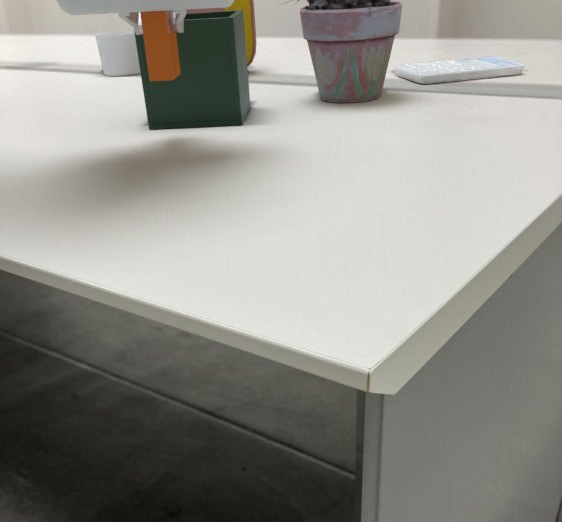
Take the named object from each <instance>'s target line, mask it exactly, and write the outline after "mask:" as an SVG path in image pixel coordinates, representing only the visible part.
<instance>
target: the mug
mask: <svg viewBox="0 0 562 522" xmlns="http://www.w3.org/2000/svg"><path fill="white" fill-rule="evenodd" d="M94 36H95V41H96V46H97V50H98V54H99V59H100V63H101V68H102V72H103V75H104V76H107V77H125V76H135V75H141V73H140V66H139V59H138V53H137V46H136V40H135V33H134V29H124V30H112V31H103V32H99V33H95V35H94Z"/></svg>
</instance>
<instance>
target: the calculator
mask: <svg viewBox="0 0 562 522" xmlns="http://www.w3.org/2000/svg"><path fill="white" fill-rule="evenodd" d="M524 70H525V64H523V63H521V62H517V61H512V60H508V59H503V58H498V57H494V56H480V57H470V58H461V59H446V60H442V59H441V60H437V61H434V60H431V61H427V62H423V61H419V62H417V63H414V62H410V63H407V64H406V63H405V64H404V63H400V64H398V65H395V66H394V74H395V76H397V77H400V78H403V79H406V80H409V81H411V82H414V83H416V84H421V85H431V84H442V83H443V84H444V83H452V82H461V81H471V80H479V79H489V78H499V77H507V76H508V77H509V76H516V75H521V74H523V73H524Z"/></svg>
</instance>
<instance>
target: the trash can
mask: <svg viewBox="0 0 562 522" xmlns="http://www.w3.org/2000/svg"><path fill="white" fill-rule="evenodd" d="M133 30H134V29H133ZM134 33H135V30H134ZM176 37H177V46H178V54H179V63H180V71H181V74H180V75H179V76H178V77H176V78H175V79H174V80H167V81H150V80H149V73H148V65H147V58H146V51H145V44H144V37H143V34H141V35H136V33H135V40H136V46H137V53H138V59H139V66H140V73H141V74H140V78H141V85H142V91H143V92H142V93H143V97H144V104H145V111H146V117H147V124H148V130H149V131H151V130H172V129H192V128H193V129H195V128H212V127H213V128H215V127H233V126H234V127H235V126H236V127H237V126H243V124H244V122H245V120H246V118H247V115H248V113H249V111H250V108H251V96H250V82H249V81H250V80H249V70H248V69H249V66H248V67H247V54H246V41H245V27H244V14H243V10H233V11H217V12H200V13H187V14H186V16H185V18H184V32H183V33H176Z"/></svg>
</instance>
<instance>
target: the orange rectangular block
mask: <svg viewBox="0 0 562 522" xmlns="http://www.w3.org/2000/svg"><path fill="white" fill-rule="evenodd" d="M172 11H173V10H168V11H148V12H139V13H140V15H141V23H142V30H143V37H144V44H145V51H146V58H147V65H148V73H149V80H150V81H167V80H174V79H175V78H176V77H178V76H179V75H180V74H181V71H180V63H179V54H178V46H177V37H176V33H172V32H171V29H170V26H169V19H170V17H169V14H170V12H172Z"/></svg>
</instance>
